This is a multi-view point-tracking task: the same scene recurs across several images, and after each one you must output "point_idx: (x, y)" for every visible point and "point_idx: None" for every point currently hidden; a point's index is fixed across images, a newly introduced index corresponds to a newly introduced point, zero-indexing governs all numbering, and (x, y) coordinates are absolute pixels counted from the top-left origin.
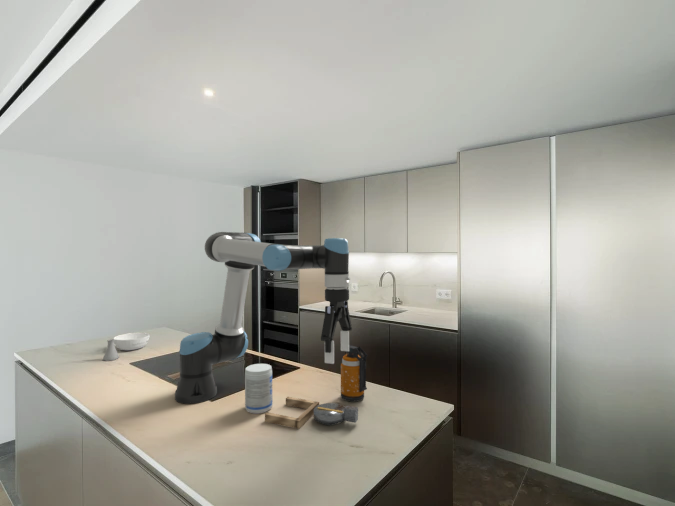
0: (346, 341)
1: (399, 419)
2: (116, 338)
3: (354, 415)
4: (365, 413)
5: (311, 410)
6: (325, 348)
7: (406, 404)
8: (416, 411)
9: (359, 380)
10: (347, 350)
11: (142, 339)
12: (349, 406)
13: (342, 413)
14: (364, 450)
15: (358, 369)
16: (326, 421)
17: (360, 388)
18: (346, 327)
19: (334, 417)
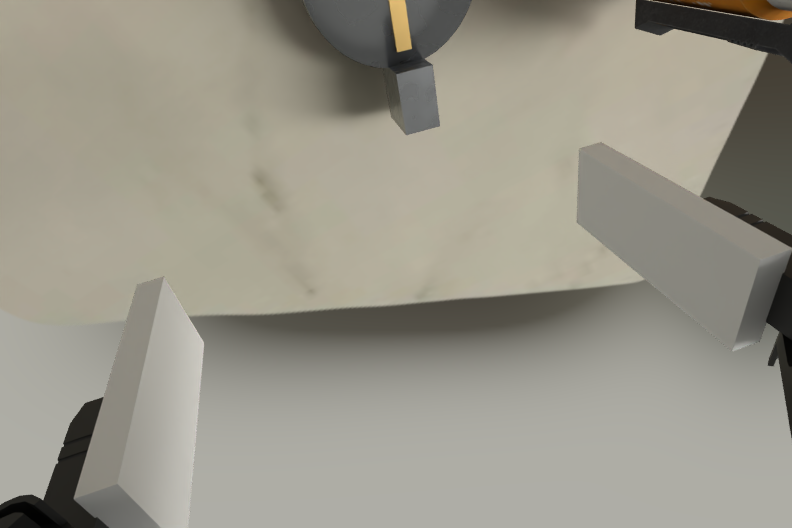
0: (641, 255)
1: (515, 209)
2: None
3: (398, 121)
4: (511, 80)
5: None
6: (63, 453)
7: None
8: None
9: (687, 2)
10: (582, 216)
11: None
12: (427, 87)
13: (393, 55)
14: (265, 226)
15: (740, 7)
16: (305, 7)
17: (648, 9)
18: (788, 373)
19: (335, 46)
